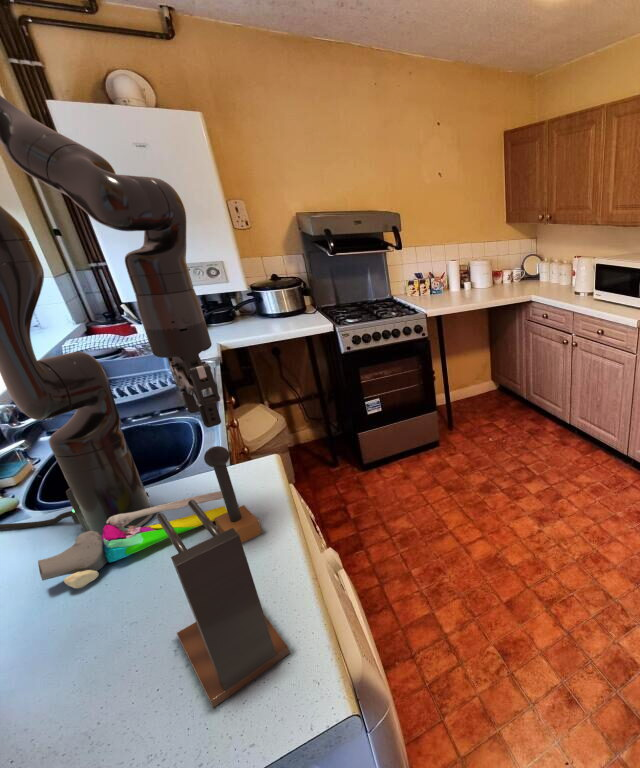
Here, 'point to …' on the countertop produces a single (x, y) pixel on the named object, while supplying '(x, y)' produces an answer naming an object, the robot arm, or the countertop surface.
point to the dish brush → (231, 499)
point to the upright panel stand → (222, 612)
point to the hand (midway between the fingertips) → (204, 418)
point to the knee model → (119, 542)
